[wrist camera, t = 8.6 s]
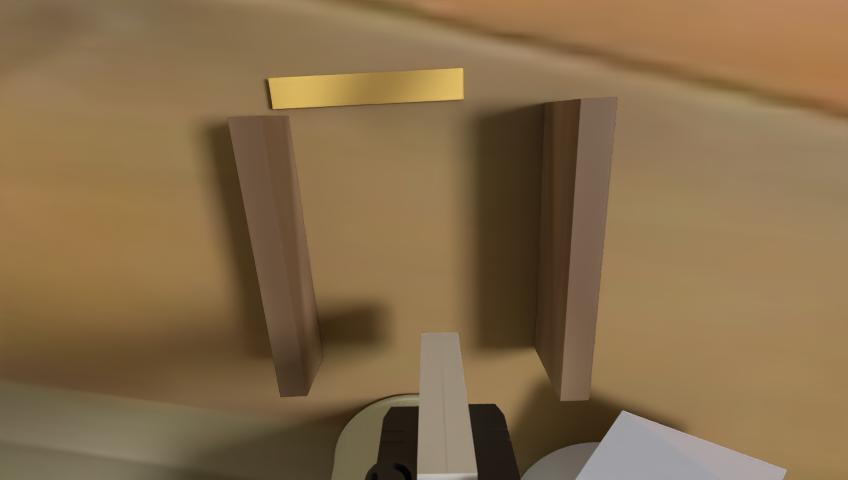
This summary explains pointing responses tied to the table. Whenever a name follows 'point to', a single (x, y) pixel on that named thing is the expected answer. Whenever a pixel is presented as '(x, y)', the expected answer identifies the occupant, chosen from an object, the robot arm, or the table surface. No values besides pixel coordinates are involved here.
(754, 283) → the table surface
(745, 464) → the wedge on round base
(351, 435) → the can
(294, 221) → the channel
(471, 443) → the robot arm
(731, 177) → the table surface
